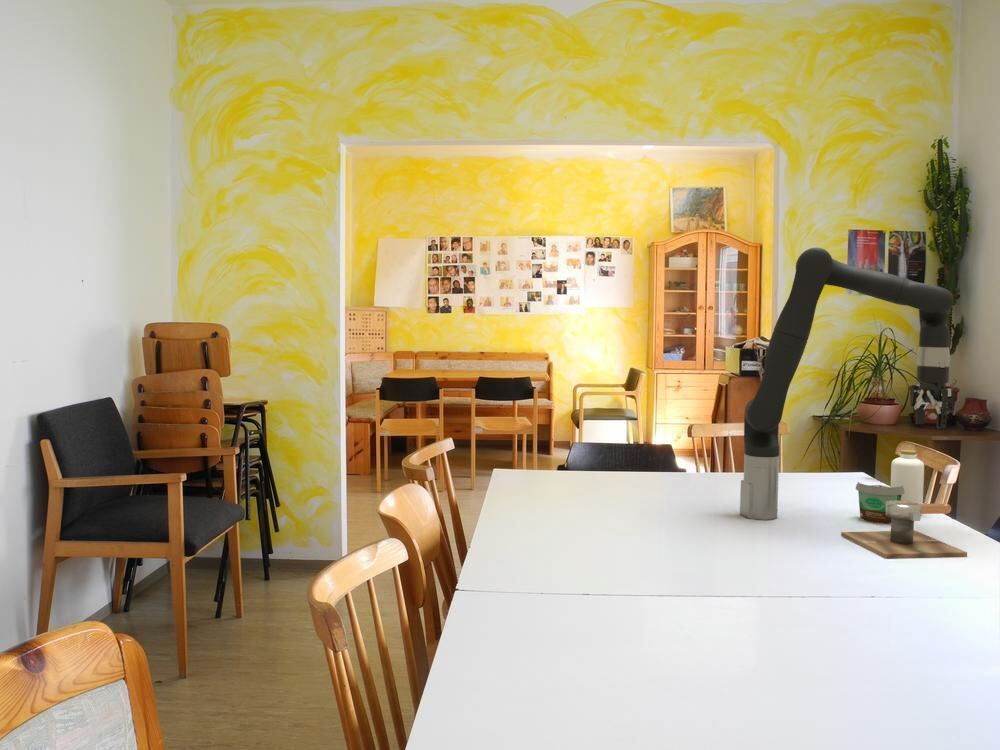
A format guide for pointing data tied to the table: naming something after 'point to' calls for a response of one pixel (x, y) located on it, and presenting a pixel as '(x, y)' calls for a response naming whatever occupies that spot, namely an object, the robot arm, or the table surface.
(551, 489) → the table surface
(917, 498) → the potion bottle
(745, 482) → the robot arm
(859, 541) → the post base
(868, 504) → the food container
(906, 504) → the collar
